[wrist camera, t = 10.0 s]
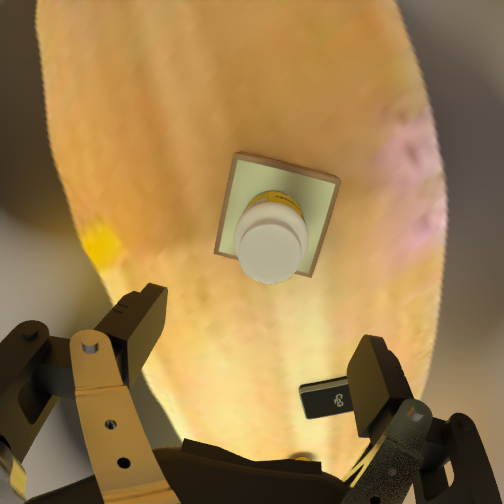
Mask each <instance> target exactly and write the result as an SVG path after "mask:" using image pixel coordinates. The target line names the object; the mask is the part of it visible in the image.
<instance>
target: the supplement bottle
mask: <svg viewBox="0 0 504 504" xmlns="http://www.w3.org/2000/svg"><path fill="white" fill-rule="evenodd" d="M233 243H234V249H235V252H236V254H237V256H238V260H239V264H240V266H241V268H242V269H243V271H244V272H245V273H246V274H247V275H248V276H249V277H250V278H251V279H253V280H255V281H257V282H260V283H264V284H277V283H281V282H283V281H285V280H287V279H289V278H290V277H291V276H292V275H293V274H294V273H295V272H296V271H297V269H298V267H299V265H300V263H301V262H302V260H303V259H304V257H305V255H306V253H307V250H308V245H309V234H308V229H307V226H306V223H305V219H304V216H303V212H302V210H301V207H300V205H299V204H298V202H297V201H296V200H295V199H294V198H293V197H292V196H291V195H289V194H287V193H285V192H282V191H278V190H269V191H265V192H262V193H260V194H258V195H256V196H255V197H254V198H253V199H252V200H251V201H250V202H249V203H248V205H247V206H246V208H245V210H244V212H243V213H242V215H241V217H240V219H239V220H238V222H237V225H236V227H235V231H234V236H233Z"/></svg>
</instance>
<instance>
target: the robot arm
mask: <svg viewBox="0 0 504 504" xmlns="http://www.w3.org/2000/svg"><path fill="white" fill-rule="evenodd" d="M167 295H168V289H167V288H166V287H163V286H159V285H156V284H152V283H148V284H147V285H146V286H145V288H144V289H143V290H142V291H141V292H140V293H139V292H136V291H133V292H131V293H129V294H126V295H124V296H123V297H122V298H121V299H120V300H119V301H118V303H117V304H116V305H115V306H114V307H113V308H112V310H110V312H109V313H108V314H107V315H106V316H105V317H104V318H103V319H102V321H101V322H100V323H99V324H98V325H97V326H96V327H95V329H94V330H84V331H80V332H78V333H76V334H75V335H74V336H73V337H72V338H71V339H66V338H59V337H54V336H50V334H49V330H48V328H47V326H46V325H45V324H44V323H42V322H40V321H35V320H30V321H25V322H22V323H20V324H19V325H17V326H16V327H15V328H14V329H13V330H12V331H11V332H10V333H9V334H8V335H7V336H6V337H5V338H4V339H3V340H2V342H1V343H0V504H402V503H403V501H404V499H405V497H406V495H407V493H408V491H409V489H410V487H411V485H412V483H413V487H414V493H415V499H416V504H502V501H501V497H500V493H499V490H498V487H497V484H496V481H495V478H494V474H493V471H492V468H491V465H490V463H489V460H488V457H487V454H486V451H485V449H484V446H483V444H482V441H481V438H480V436H479V433H478V431H477V429H476V426H475V424H474V422H473V421H472V420H471V419H470V418H469V417H468V416H467V415H465V414H463V413H455V414H453V415H452V416H451V417H450V418H449V419H448V420H447V421H444V420H441V419H438V418H434V417H433V415H432V412H431V410H430V408H429V407H428V406H427V405H426V404H425V403H423V402H422V401H420V400H417V399H414V397H413V394H412V392H411V389H410V387H409V384H408V382H407V379H406V377H405V376H404V372H403V370H402V369H401V368H402V367H401V365H400V363H399V360H398V358H397V357H396V356H395V355H394V354H393V353H392V352H391V351H390V350H388V349H387V346H386V344H385V341H384V339H383V338H382V337H378V336H372V335H367V334H366V335H364V336H363V337H362V339H361V341H360V343H359V345H358V347H357V348H356V350H355V352H354V354H353V356H352V358H351V360H350V362H349V364H348V368H347V380H348V384H349V389H350V394H351V399H352V404H353V409H354V414H355V420H356V425H357V431H358V436H359V437H362V438H370V441H371V442H370V443H369V444H368V445H367V446H366V447H365V449H364V450H363V452H362V453H361V455H360V456H359V457H358V459H357V460H356V462H355V463H354V464H353V466H352V467H351V468H350V470H349V471H348V472H347V474H346V475H345V476H344V477H343V478H342V480H340V479H339V478H337V477H335V476H333V475H331V474H328V473H326V472H323V471H322V468H321V462H316V461H304V460H294V459H283V460H271V461H251V460H249V459H246V458H244V457H241V456H239V455H236V454H234V453H232V452H229V451H227V450H225V449H222V448H220V447H217V446H213V445H209V444H205V443H201V442H197V441H193V440H189V439H186V438H184V441H183V444H182V447H177V446H168V447H158V448H154V449H151V447H150V445H149V442H148V440H147V438H146V435H145V433H144V431H143V428H142V426H141V423H140V421H139V418H138V415H137V413H136V410H135V408H134V405H133V402H132V399H131V396H130V393H129V391H128V389H131V387H132V385H133V383H134V381H135V379H136V377H137V376H138V374H139V372H140V370H141V369H142V367H143V365H144V363H145V362H146V360H147V358H148V356H149V355H150V353H151V351H152V349H153V347H154V346H155V344H156V342H157V340H158V339H159V337H160V335H161V333H162V331H163V328H164V324H165V317H166V305H167ZM59 397H65V398H71V399H76V402H77V407H78V412H79V417H80V421H81V426H82V430H83V434H84V438H85V442H86V446H87V450H88V453H89V457H90V460H91V464H92V467H93V470H94V473H95V474H94V475H92V476H90V477H87V478H85V479H82V480H80V481H77V482H75V483H72V484H70V485H67V486H64V487H61V488H59V489H56V490H53V491H50V492H48V493H45V494H42V495H39V496H36V497H33V498H31V499H29V500H27V501H26V498H25V493H24V492H25V486H26V482H27V476H26V472H25V470H24V468H23V466H22V465H21V463H22V462H23V460H24V458H25V456H26V454H27V452H28V450H29V449H30V447H31V445H32V443H33V441H34V440H35V438H36V436H37V434H38V433H39V431H40V429H41V427H42V426H43V424H44V422H45V421H46V419H47V417H48V416H49V414H50V412H51V411H52V409H53V407H54V406H55V404H56V402H57V401H58V399H59ZM449 461H451V464H452V468H453V472H454V481H453V483H452V485H451V486H450V487H449V485H448V481H447V477H446V473H445V469H444V465H445V464H446V463H447V462H449Z"/></svg>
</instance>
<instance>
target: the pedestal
mask: <svg viewBox="0 0 504 504" xmlns="http://www.w3.org/2000/svg"><path fill="white" fill-rule="evenodd" d="M340 184H341V180H340V179H339V178H337V177H336V176H334V175H331V174H328V173H324V172H321V171H317V170H313V169H310V168H306V167H302V166H299V165H295V164H291V163H287V162H283V161H279V160H275V159H270V158H266V157H262V156H258V155H253V154H249V153H244V152H236V153H234V155H233V160H232V165H231V169H230V174H229V179H228V183H227V188H226V193H225V198H224V203H223V208H222V213H221V218H220V223H219V228H218V233H217V238H216V243H215V249H214V254H217V255H221V256H225V257H229V258H233V259H237V260H238V256H237V254H236V252H235V249H234V243H233V236H234V231H235V227H236V225H237V222H238V220H239V219H240V217H241V215H242V213H243V212H244V210H245V208H246V206H247V205H248V203H249V202H250V201H251V200H252V199H253V198H254V197H255V196H256V195H258V194H260V193H262V192H265V191H269V190H278V191H282V192H285V193H287V194H289V195H291V196H292V197H293V198H294V199H295V200H296V201H297V202H298V204H299V205H300V207H301V210H302V212H303V216H304V219H305V223H306V226H307V229H308V234H309V245H308V250H307V253H306V255H305V257H304V259H303V260H302V262H301V263H300V265H299V267H298V269H297V271H296V272H295V273H294V274H298V275H303V276H307V277H311V278H312V275H313V272H314V269H315V266H316V263H317V260H318V257H319V254H320V250H321V247H322V244H323V241H324V238H325V235H326V231H327V228H328V225H329V221H330V218H331V215H332V211H333V208H334V205H335V201H336V198H337V194H338V191H339V187H340Z"/></svg>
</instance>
